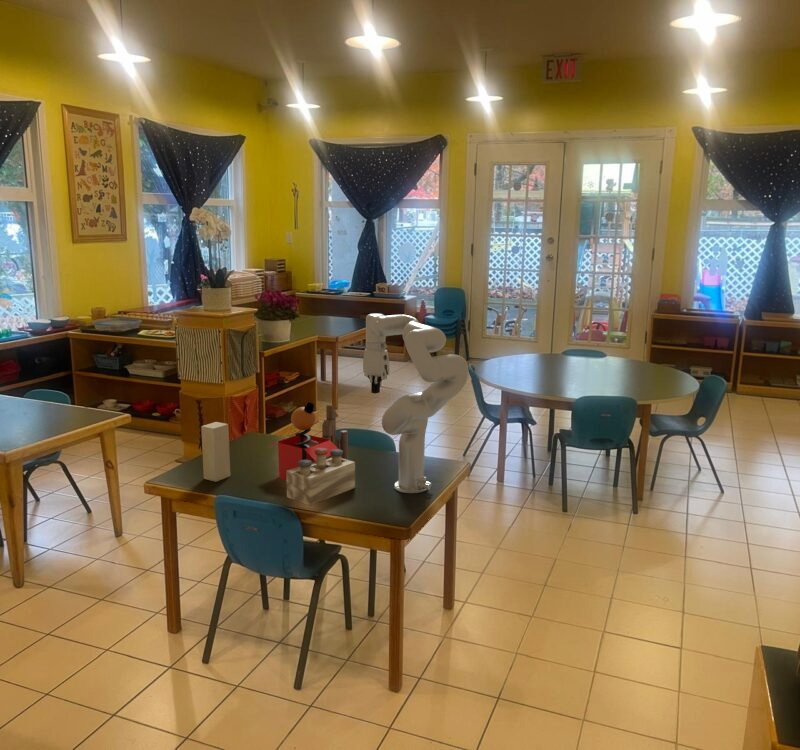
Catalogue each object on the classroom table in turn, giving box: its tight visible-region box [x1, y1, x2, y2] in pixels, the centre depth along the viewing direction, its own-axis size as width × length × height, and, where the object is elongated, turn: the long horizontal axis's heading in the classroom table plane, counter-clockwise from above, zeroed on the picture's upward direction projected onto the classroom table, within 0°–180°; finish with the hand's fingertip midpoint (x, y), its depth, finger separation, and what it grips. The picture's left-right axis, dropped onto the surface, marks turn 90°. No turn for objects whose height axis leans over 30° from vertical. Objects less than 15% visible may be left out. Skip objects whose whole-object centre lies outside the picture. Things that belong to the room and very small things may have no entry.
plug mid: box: [315, 448, 327, 470], centre depth 266 cm, size 5×5×9 cm
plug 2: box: [330, 449, 343, 464], centre depth 273 cm, size 5×5×9 cm
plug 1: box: [298, 460, 312, 476], centre depth 261 cm, size 5×5×9 cm
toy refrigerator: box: [200, 421, 231, 482], centre depth 281 cm, size 8×7×21 cm
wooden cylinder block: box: [286, 456, 356, 506], centre depth 268 cm, size 12×23×10 cm, turn 141°
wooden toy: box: [320, 404, 349, 460], centre depth 296 cm, size 15×7×25 cm, turn 160°
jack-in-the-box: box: [266, 401, 338, 482], centre depth 282 cm, size 26×16×30 cm, turn 55°
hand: (375, 392), depth 285 cm, fingers closed
